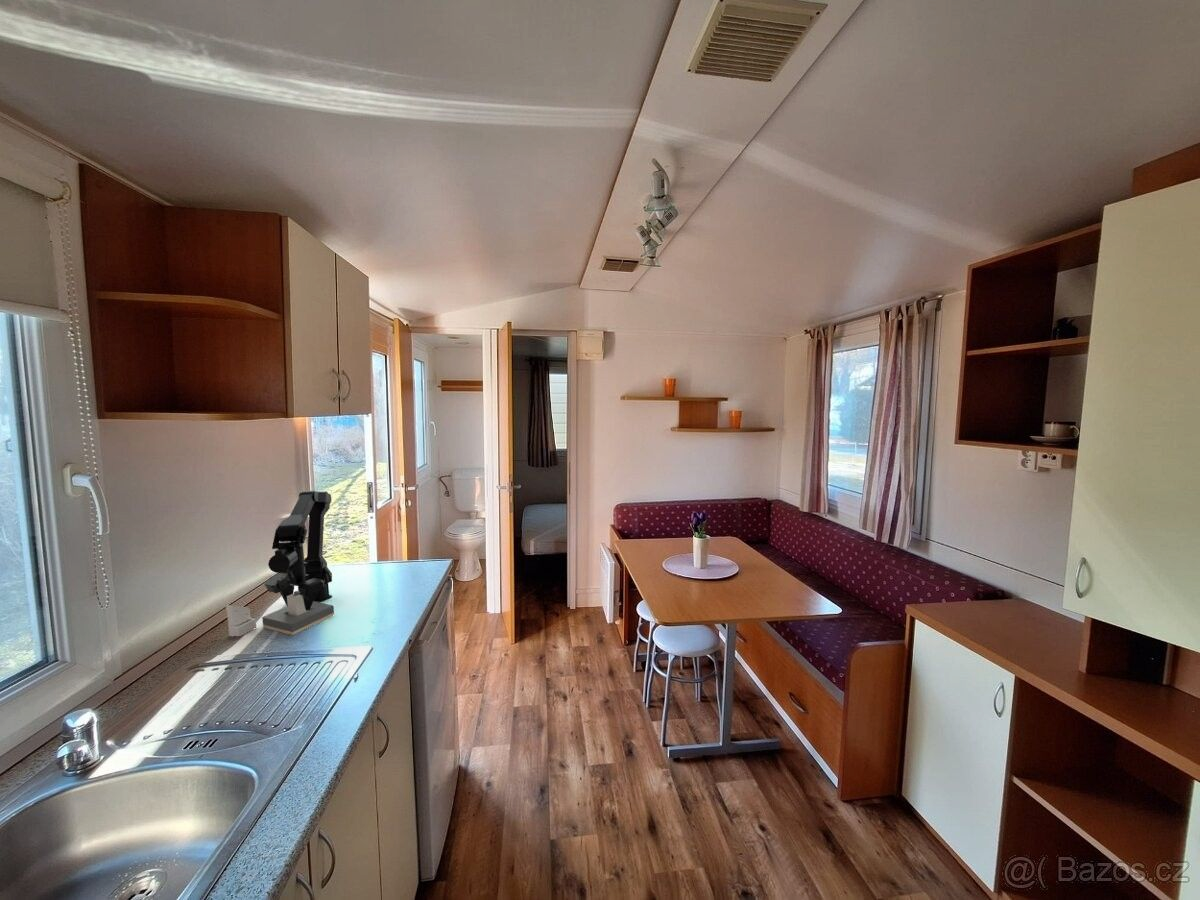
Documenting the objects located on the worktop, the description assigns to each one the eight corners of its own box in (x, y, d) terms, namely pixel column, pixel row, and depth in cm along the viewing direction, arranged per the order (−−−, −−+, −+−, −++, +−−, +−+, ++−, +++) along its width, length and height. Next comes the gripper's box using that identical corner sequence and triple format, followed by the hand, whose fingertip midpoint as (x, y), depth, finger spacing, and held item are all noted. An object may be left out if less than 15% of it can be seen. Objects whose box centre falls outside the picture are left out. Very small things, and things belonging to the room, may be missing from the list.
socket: (305, 608, 161) (304, 599, 161) (334, 615, 156) (333, 605, 156) (263, 627, 149) (262, 617, 148) (292, 635, 143) (291, 624, 143)
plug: (301, 614, 155) (298, 588, 154) (309, 616, 153) (306, 590, 152) (289, 620, 151) (286, 593, 150) (297, 622, 150) (294, 595, 149)
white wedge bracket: (214, 635, 139) (225, 604, 142) (243, 636, 148) (253, 608, 151) (224, 636, 138) (235, 605, 142) (253, 637, 147) (263, 608, 151)
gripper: (248, 566, 146) (253, 614, 148) (288, 574, 139) (293, 624, 141) (284, 555, 156) (288, 599, 158) (323, 561, 149) (327, 608, 151)
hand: (298, 608), depth 152 cm, fingers open, 9 cm apart
